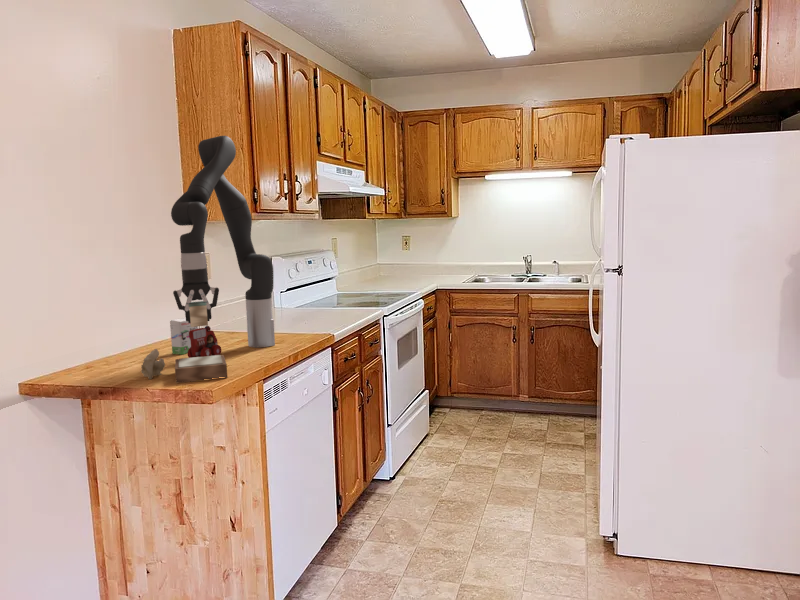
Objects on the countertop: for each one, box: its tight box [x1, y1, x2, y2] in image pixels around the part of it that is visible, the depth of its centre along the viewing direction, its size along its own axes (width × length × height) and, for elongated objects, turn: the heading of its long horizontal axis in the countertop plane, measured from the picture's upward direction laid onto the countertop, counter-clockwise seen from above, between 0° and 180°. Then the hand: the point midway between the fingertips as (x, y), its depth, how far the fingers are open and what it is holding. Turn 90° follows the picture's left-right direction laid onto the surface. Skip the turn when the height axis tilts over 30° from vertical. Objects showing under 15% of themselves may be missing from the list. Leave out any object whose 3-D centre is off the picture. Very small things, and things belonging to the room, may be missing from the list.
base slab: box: [174, 354, 228, 384], centre depth 183 cm, size 14×14×4 cm
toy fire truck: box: [186, 325, 222, 358], centre depth 207 cm, size 7×12×10 cm, turn 157°
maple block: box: [189, 300, 209, 327], centre depth 193 cm, size 5×5×7 cm
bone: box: [140, 348, 166, 380], centre depth 183 cm, size 9×6×10 cm
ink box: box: [169, 317, 199, 355], centre depth 217 cm, size 8×5×12 cm, turn 151°
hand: (198, 321), depth 193 cm, fingers closed on maple block, 5 cm apart
